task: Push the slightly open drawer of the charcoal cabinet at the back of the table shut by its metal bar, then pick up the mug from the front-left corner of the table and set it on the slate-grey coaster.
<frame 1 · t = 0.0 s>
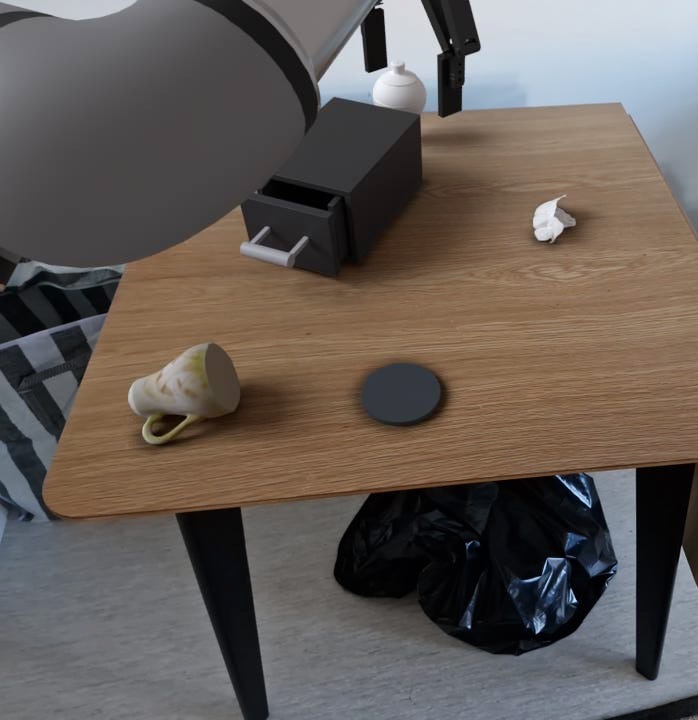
hand: (411, 90, 81), 18 cm above the table, tool pointing down, fingers open, 13 cm apart
tissue: (552, 227, 94), on the table
coaster: (401, 395, 73), on the table
mug: (190, 411, 71), on the table
white rounded knobbed vessel: (402, 142, 108), on the table
cabinet: (349, 209, 96), on the table
drawer: (317, 206, 87), point 5 cm above the table, slide at 3.0 cm
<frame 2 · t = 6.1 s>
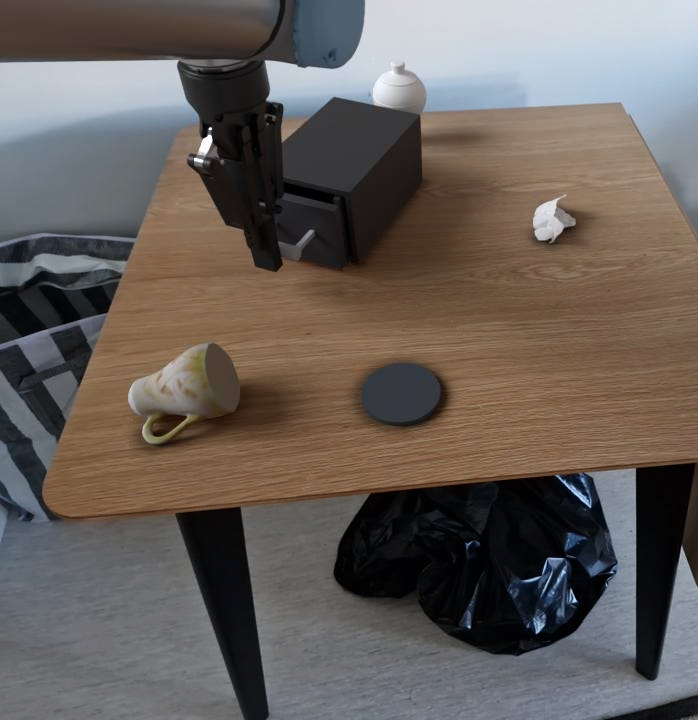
hand: (269, 265, 81), 4 cm above the table, tool pointing down, fingers closed
drawer: (322, 200, 88), point 5 cm above the table, slide at 1.6 cm, touching gripper
everything else where it was.
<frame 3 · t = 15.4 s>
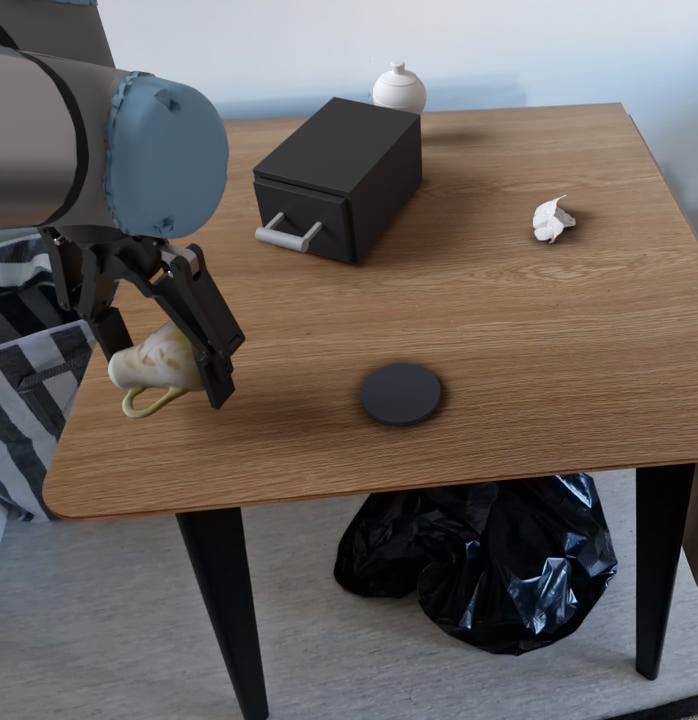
hand: (174, 382, 68), 4 cm above the table, tool pointing down, fingers closed on mug, 10 cm apart
mug: (173, 386, 68), point 4 cm above the table, touching gripper
drawer: (329, 193, 89), point 5 cm above the table, slide at 0.0 cm, touching cabinet
everything else where it was.
when the fingers open (1 cm above the table, at t = 22.2 s): mug stays where it is, resting on coaster.
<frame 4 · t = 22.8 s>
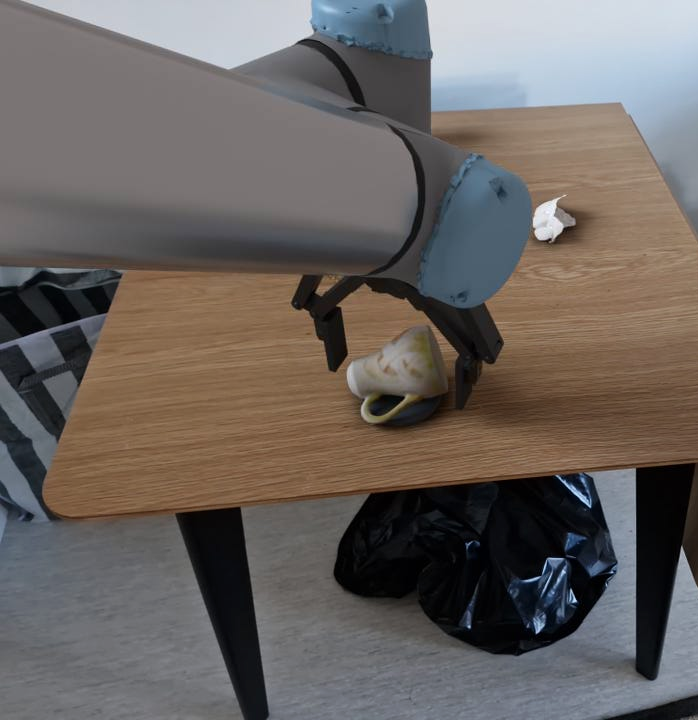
hand: (399, 381, 72), 2 cm above the table, tool pointing down, fingers open, 13 cm apart
mug: (399, 392, 73), resting on coaster
everything else where it was.
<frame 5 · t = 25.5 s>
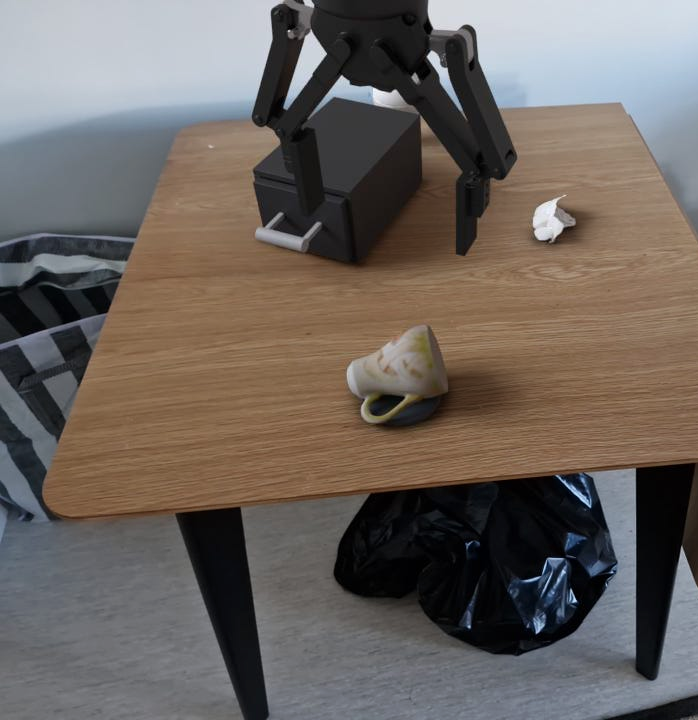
hand: (387, 226, 58), 21 cm above the table, tool pointing down, fingers open, 13 cm apart
nothing on the table moved.
at the end: drawer slide at 0.0 cm; mug 0.2 cm off-centre on the coaster, point 0.4 cm above the coaster's base; mug tilted 0° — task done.
